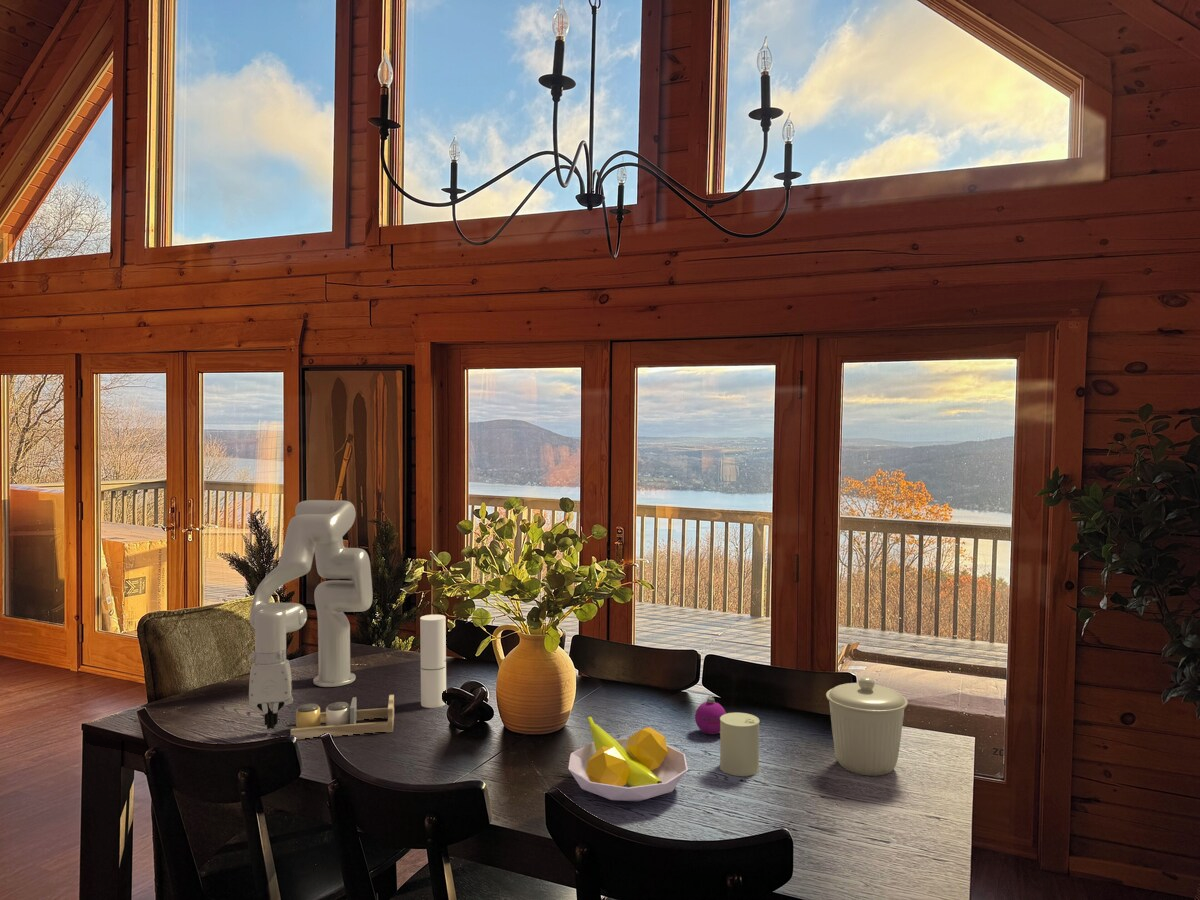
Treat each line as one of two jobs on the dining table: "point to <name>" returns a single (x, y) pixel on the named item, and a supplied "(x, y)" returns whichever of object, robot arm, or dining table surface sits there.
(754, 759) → the can
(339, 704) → the cream jar
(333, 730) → the lane
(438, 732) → the dining table surface
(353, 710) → the pusher
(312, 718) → the amber jar
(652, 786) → the fruit bowl
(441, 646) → the cylindrical container
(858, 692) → the canister
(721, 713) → the christmas ornament
